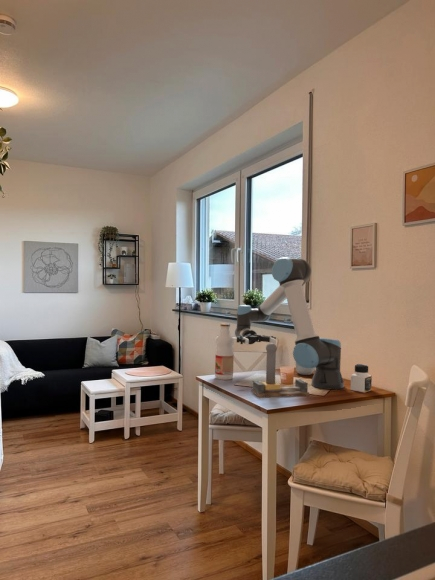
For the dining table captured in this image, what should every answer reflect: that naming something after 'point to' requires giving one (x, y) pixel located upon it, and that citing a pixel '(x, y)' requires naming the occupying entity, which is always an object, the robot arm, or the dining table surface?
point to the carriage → (271, 368)
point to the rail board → (281, 390)
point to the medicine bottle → (361, 379)
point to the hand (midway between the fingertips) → (261, 342)
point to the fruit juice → (224, 354)
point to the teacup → (304, 370)
